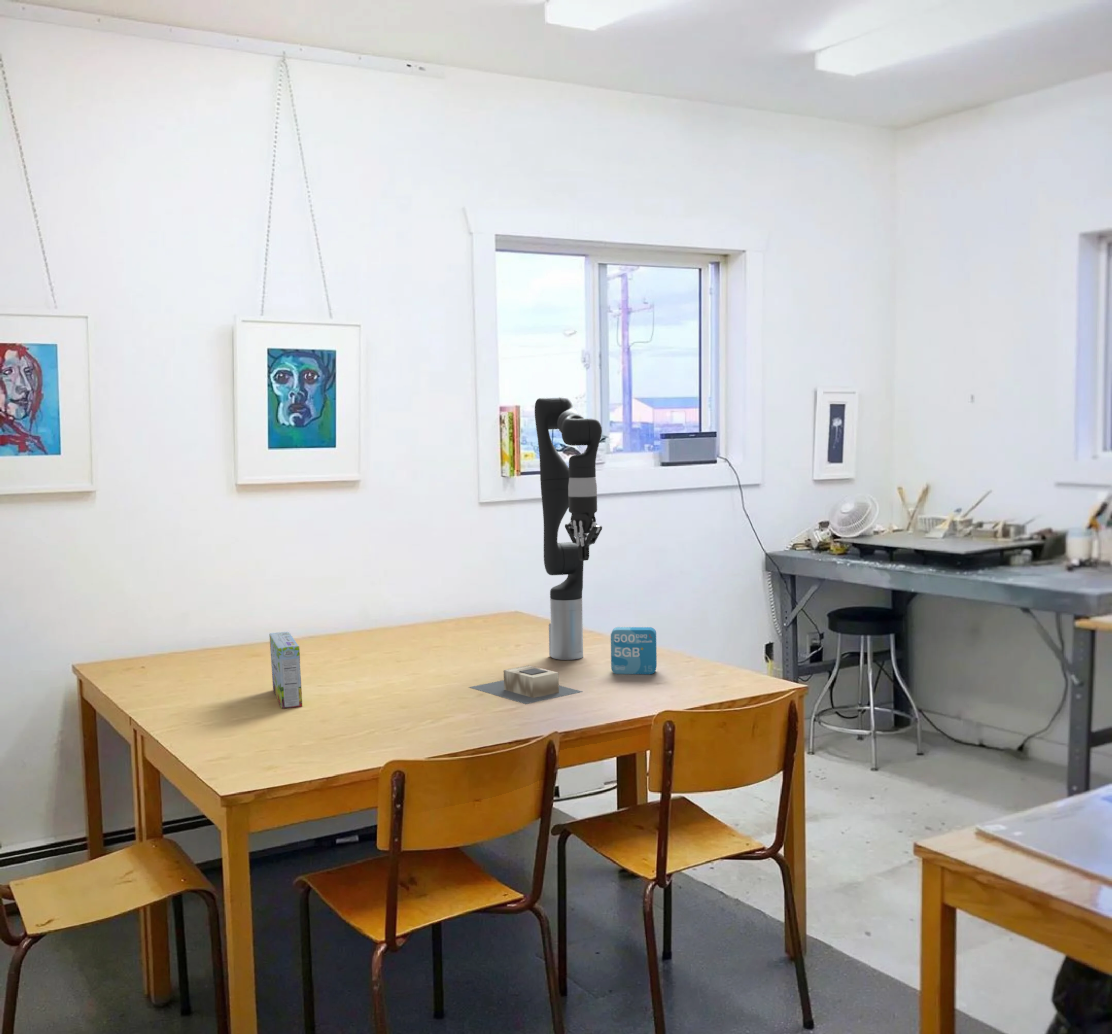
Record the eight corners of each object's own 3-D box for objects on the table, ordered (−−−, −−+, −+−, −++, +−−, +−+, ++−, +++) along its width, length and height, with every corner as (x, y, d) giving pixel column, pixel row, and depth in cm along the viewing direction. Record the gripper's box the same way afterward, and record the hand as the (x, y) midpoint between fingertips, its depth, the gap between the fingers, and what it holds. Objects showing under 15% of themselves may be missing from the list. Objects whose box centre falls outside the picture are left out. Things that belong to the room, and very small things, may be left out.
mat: (468, 688, 277) (468, 687, 277) (524, 677, 288) (524, 676, 288) (526, 705, 259) (526, 704, 258) (583, 692, 270) (583, 691, 270)
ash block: (503, 669, 273) (533, 676, 264) (528, 664, 278) (558, 671, 269) (504, 689, 274) (533, 697, 264) (529, 684, 279) (558, 692, 269)
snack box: (270, 690, 279) (268, 632, 278) (292, 688, 281) (290, 630, 280) (280, 709, 259) (277, 647, 258) (303, 707, 261) (301, 645, 260)
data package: (611, 674, 290) (610, 629, 289) (612, 670, 295) (611, 626, 294) (656, 674, 289) (655, 630, 288) (656, 671, 293) (656, 627, 292)
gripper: (610, 494, 283) (611, 560, 284) (577, 493, 293) (578, 557, 294) (588, 496, 278) (589, 563, 279) (555, 494, 288) (556, 559, 289)
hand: (583, 560), depth 287 cm, fingers closed
